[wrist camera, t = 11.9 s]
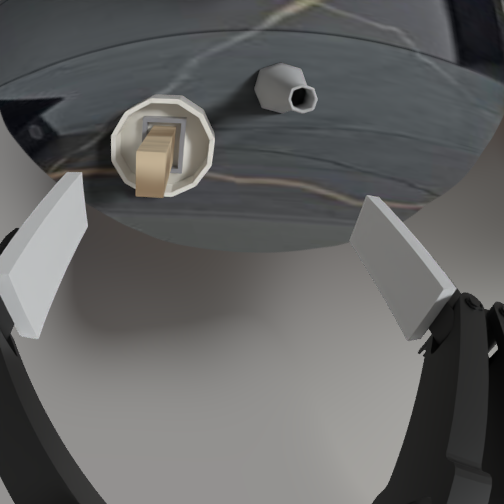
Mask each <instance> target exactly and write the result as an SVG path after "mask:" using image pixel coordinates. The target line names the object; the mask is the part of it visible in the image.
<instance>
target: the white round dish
mask: <svg viewBox="0 0 504 504" xmlns="http://www.w3.org/2000/svg"><path fill="white" fill-rule="evenodd" d="M154 125H159V126H176V135H175V145H174V157H173V164H172V167H171V171H170V174H169V178H168V182H167V186H166V190H165V193H164V196H168V197H173V196H175V195H177V194H179V193H181V192H184V191H186V190H188V189H190V188H193V187H195V186H196V185H197V184H198V183H199V181H200V180H201V179H202V177H203V176H204V175H205V173H206V172H207V171H208V170H209V168H210V167H211V165H212V158H213V150H214V142H215V136H214V131H213V129H212V127H211V124H210V122H209V120H208V118H207V116H206V114H205V112H204V110H203V109H202V108H200V107H199V106H197V105H196V104H194V103H193V102H191V101H190V100H188V99H186V98H185V97H183V96H182V95H153V96H151V97H149V98H147V99H145V100H143V101H142V102H140V103H138V104H136V105H134V106H132V107H131V108H130V109H128V110H127V111H126V112H125V113H124V115H123V116H122V118H121V120H120V121H119V123H118V125H117V126H116V128H115V130H114V131H113V133H112V135H111V161H112V163H113V165H114V166H115V168H116V170H117V171H118V173H119V175H120V176H121V178H122V180H123V181H124V183H126V184H127V185H129V186H131V187H133V188H134V189H136V151H137V149H138V148H139V146H140V145H141V143H142V142H143V140H144V139H145V137H146V136H147V134H148V133H149V132H150V130H151V129H152V127H153V126H154Z"/></svg>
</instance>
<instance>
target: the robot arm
mask: <svg viewBox="0 0 504 504" xmlns="http://www.w3.org/2000/svg"><path fill="white" fill-rule="evenodd" d="M87 227H88V224H87V216H86V208H85V200H84V190H83V180H82V172H67V173H66V174H65V175H64V176H63V177H62V178H61V179H60V180H59V181H58V183H57V184H56V185H55V186H54V187H53V188H52V189H51V190H50V192H49V193H48V194H47V195H46V196H45V197H44V199H43V200H42V201H41V202H40V203H39V205H38V206H37V207H36V208H35V209H34V211H33V212H32V213H31V215H30V216H29V217H28V219H27V220H26V221H25V222H24V223H23V225H22V226H21V227H20V228H16V229H14V230H13V231H12V232H10V233H9V234H8V235H7V236H6V237H5V238H4V239H3V241H2V242H1V244H0V477H1V479H2V481H3V483H4V485H5V487H6V488H7V490H8V492H9V494H10V496H11V498H12V500H13V501H14V503H15V504H106V502H105V501H104V500H103V499H102V497H101V496H100V495H99V494H98V492H97V491H96V490H95V489H94V487H93V486H92V485H91V483H90V482H89V481H88V479H87V478H86V476H85V475H84V474H83V472H82V471H81V469H80V468H79V466H78V465H77V464H76V462H75V461H74V459H73V458H72V456H71V455H70V453H69V451H68V450H67V448H66V447H65V445H64V444H63V442H62V440H61V439H60V437H59V435H58V433H57V432H56V430H55V428H54V426H53V425H52V423H51V421H50V419H49V417H48V415H47V414H46V412H45V410H44V408H43V406H42V404H41V402H40V400H39V398H38V396H37V394H36V392H35V390H34V387H33V385H32V383H31V381H30V379H29V376H28V374H27V372H26V369H25V367H24V365H23V362H22V360H21V357H20V355H19V352H18V349H17V347H16V344H15V341H14V339H13V337H12V335H11V334H10V333H11V331H12V328H13V326H14V325H15V327H16V329H17V331H18V332H19V334H20V336H23V337H29V338H34V339H38V338H39V336H40V333H41V330H42V327H43V325H44V322H45V319H46V317H47V314H48V311H49V309H50V306H51V304H52V301H53V299H54V297H55V294H56V292H57V289H58V287H59V285H60V282H61V280H62V278H63V276H64V274H65V271H66V269H67V267H68V265H69V263H70V261H71V258H72V256H73V254H74V252H75V250H76V248H77V246H78V244H79V242H80V240H81V238H82V236H83V235H84V232H85V231H86V229H87ZM349 242H350V243H351V245H352V246H353V248H354V249H355V251H356V253H357V254H358V256H359V258H360V259H361V261H362V262H363V264H364V266H365V267H366V269H367V271H368V272H369V274H370V276H371V277H372V279H373V281H374V282H375V284H376V286H377V287H378V289H379V291H380V293H381V294H382V296H383V298H384V299H385V301H386V303H387V305H388V306H389V308H390V310H391V312H392V314H393V316H394V317H395V319H396V321H397V323H398V325H399V326H400V328H401V330H402V332H403V334H404V336H405V338H406V340H407V341H410V340H417V339H421V338H422V336H423V335H424V334H425V333H426V331H427V330H428V329H429V330H430V331H431V333H432V335H431V336H430V337H429V339H428V340H427V341H426V342H425V344H424V345H423V346H422V348H420V350H419V352H418V353H419V354H420V353H421V352H422V351H423V350H426V352H425V354H424V355H423V356H424V357H425V358H424V363H423V368H422V374H421V378H420V383H419V387H418V391H417V396H416V400H415V404H414V407H413V411H412V415H411V419H410V422H409V425H408V429H407V432H406V435H405V439H404V442H403V445H402V448H401V451H400V454H399V457H398V459H397V462H396V465H395V468H394V470H393V473H392V476H391V478H390V481H389V483H388V485H387V486H386V488H385V489H384V490H383V491H382V492H381V493H380V494H379V495H378V496H377V497H376V499H375V500H374V501H373V503H372V504H504V304H502V303H501V302H495V303H494V305H493V307H491V309H490V310H487V309H484V307H483V305H482V304H481V302H480V301H479V300H478V299H477V298H476V297H475V296H473V295H471V294H469V293H462V294H461V293H460V292H459V290H458V289H457V288H456V286H455V285H454V284H453V282H452V281H451V280H450V278H449V277H448V276H447V275H446V273H444V271H443V269H442V268H441V267H440V266H439V264H438V263H437V262H436V261H435V259H434V258H433V257H432V256H431V255H430V254H429V253H428V251H427V250H426V249H425V248H424V247H423V246H422V244H421V243H420V242H419V241H418V240H417V239H416V237H415V236H414V235H413V234H412V233H411V231H410V230H409V229H408V228H407V227H406V226H405V225H404V224H403V222H402V221H401V220H400V219H399V218H398V217H397V216H396V215H395V214H394V213H393V211H392V210H391V209H390V208H389V207H388V206H387V205H386V204H385V203H384V202H383V201H382V200H381V199H380V198H379V197H375V196H369V195H366V198H365V201H364V203H363V206H362V209H361V212H360V214H359V217H358V220H357V222H356V225H355V227H354V230H353V233H352V235H351V238H350V240H349ZM496 344H497V346H498V350H497V351H496V352H495V353H494V354H493V355H492V356H491V357H490V358H489V356H488V353H489V351H490V350H491V349H492V348H493V347H494V346H495V345H496Z"/></svg>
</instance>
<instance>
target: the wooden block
mask: <svg viewBox="0 0 504 504" xmlns="http://www.w3.org/2000/svg"><path fill="white" fill-rule="evenodd" d="M175 135H176V126H159V125H154V126H153V127H152V129H151V130H150V132H149V133H148V134H147V136H146V137H145V139H144V140H143V142H142V143H141V145H140V146H139V148H138V149H137V151H136V196H139V197H157V198H163V197H164V193H165V190H166V186H167V182H168V178H169V174H170V171H171V167H172V164H173V157H174V145H175Z"/></svg>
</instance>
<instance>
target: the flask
mask: <svg viewBox="0 0 504 504" xmlns="http://www.w3.org/2000/svg"><path fill="white" fill-rule="evenodd" d="M254 90H255V93H256V95H257V98H258V100H259V103H260V105H261V108H263V109H267V110H271V111H275V112H278V113H285V112H288V111H290V110H292V111H296V112H299V113H302V114H303V113H306V112H309V111H312V110H314V108H315V105H316V102H317V100H318V99H317V96H316V93H315V90H314V88H312V87H309V86H307V84H306V81H305V78H304V75H303V72H302V70H301V69H300V68H297V67H294V66H291V65H288V64H285V63H281V62H280V63H277V64H274V65H271V66H268V67H265V68H262V69H260V71H259V74H258V77H257V81H256V84H255V87H254Z"/></svg>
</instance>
